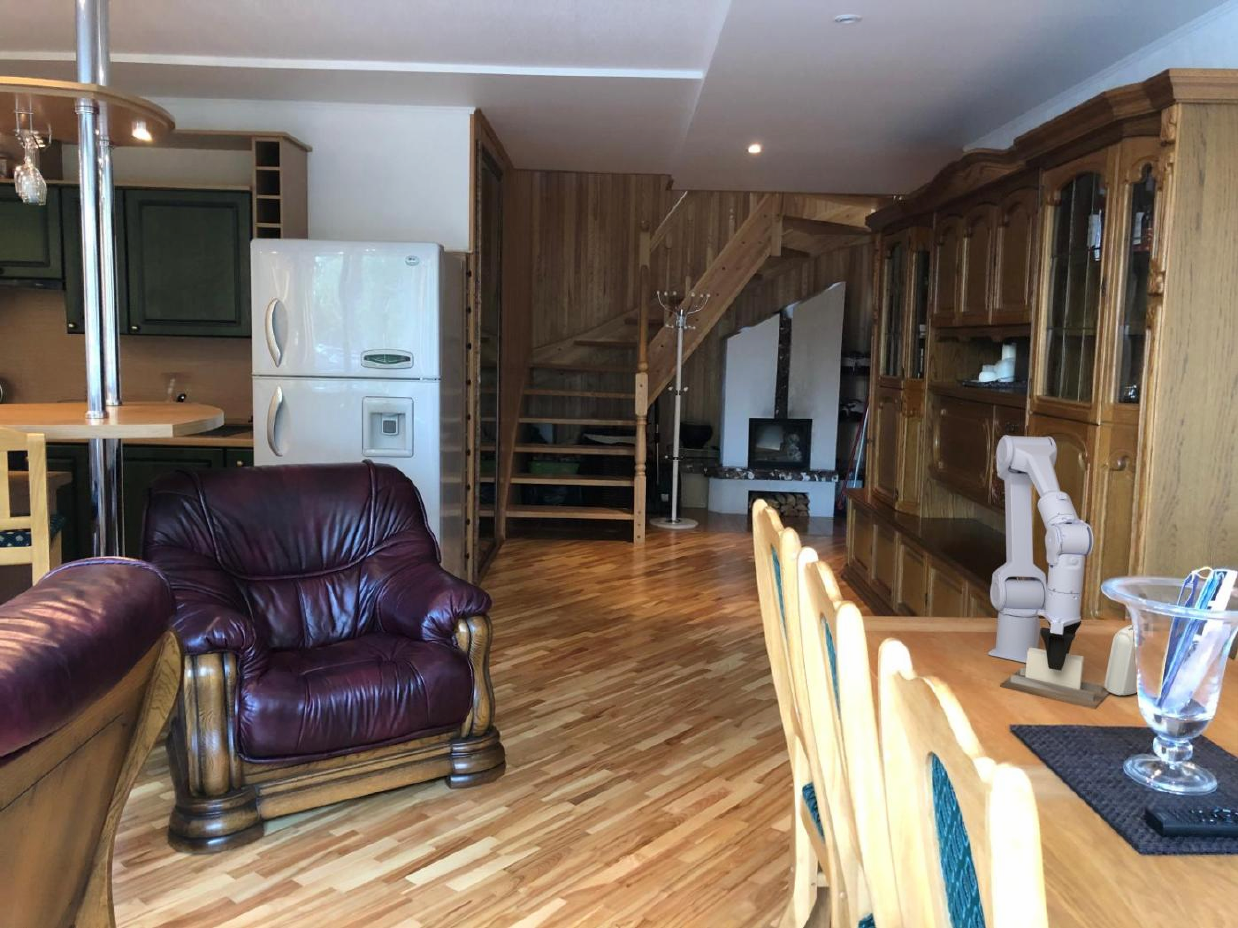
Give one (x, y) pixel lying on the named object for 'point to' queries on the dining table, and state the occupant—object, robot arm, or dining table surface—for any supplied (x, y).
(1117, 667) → the cream rounded upright block
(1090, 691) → the track board
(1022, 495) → the robot arm
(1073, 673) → the cream rectangular block
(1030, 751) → the dining table surface
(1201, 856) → the dining table surface
